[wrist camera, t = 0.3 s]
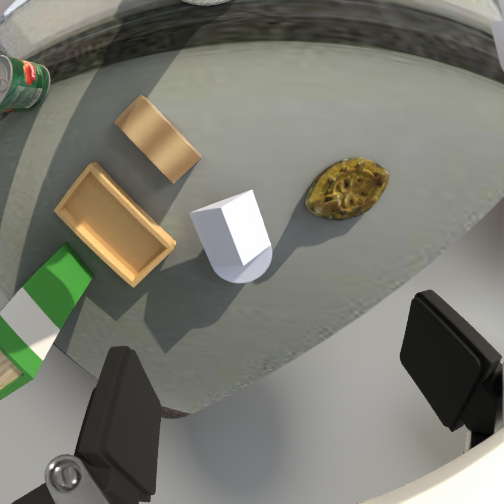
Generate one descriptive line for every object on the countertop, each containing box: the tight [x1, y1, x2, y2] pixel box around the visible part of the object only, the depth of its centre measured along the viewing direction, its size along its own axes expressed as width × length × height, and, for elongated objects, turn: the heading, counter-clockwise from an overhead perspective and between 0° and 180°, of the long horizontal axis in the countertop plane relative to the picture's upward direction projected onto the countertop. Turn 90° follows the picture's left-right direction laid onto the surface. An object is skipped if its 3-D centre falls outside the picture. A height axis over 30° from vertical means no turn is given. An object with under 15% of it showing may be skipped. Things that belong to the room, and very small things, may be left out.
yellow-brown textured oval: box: [305, 157, 389, 220], centre depth 43 cm, size 9×5×15 cm
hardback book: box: [0, 242, 94, 400], centre depth 34 cm, size 18×7×24 cm, turn 121°
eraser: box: [114, 95, 202, 184], centre depth 37 cm, size 12×5×4 cm, turn 40°
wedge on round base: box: [189, 190, 272, 283], centre depth 42 cm, size 9×7×13 cm
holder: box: [54, 162, 176, 288], centre depth 41 cm, size 18×10×3 cm, turn 40°
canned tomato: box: [0, 55, 50, 112], centre depth 26 cm, size 8×8×11 cm
